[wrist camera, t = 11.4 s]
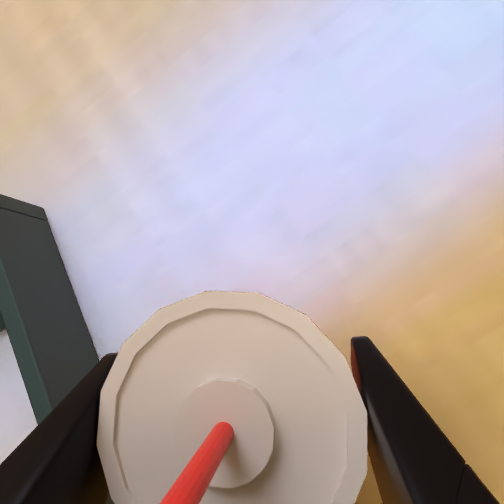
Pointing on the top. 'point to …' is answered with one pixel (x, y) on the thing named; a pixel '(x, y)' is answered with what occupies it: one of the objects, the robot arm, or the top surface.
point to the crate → (40, 309)
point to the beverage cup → (231, 408)
